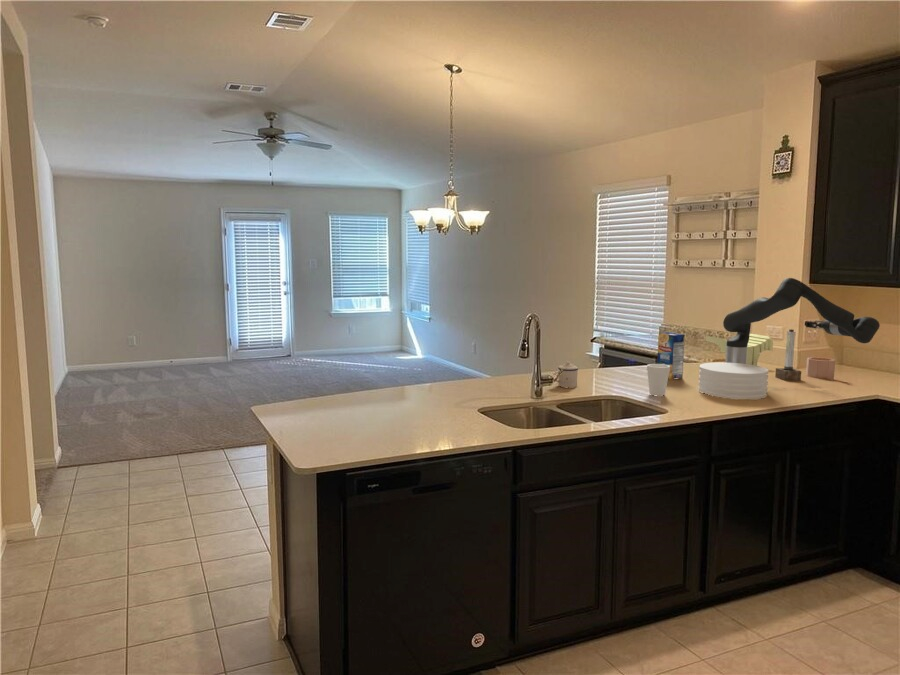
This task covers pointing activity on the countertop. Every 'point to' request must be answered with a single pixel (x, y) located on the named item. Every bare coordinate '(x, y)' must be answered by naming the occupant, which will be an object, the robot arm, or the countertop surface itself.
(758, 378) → the plate stack
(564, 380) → the teacup with lid
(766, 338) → the slatted curved stool
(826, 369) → the utensil crock
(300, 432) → the countertop surface
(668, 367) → the foam cup
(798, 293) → the robot arm
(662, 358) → the beverage box
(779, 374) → the tong rest
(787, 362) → the tongs
